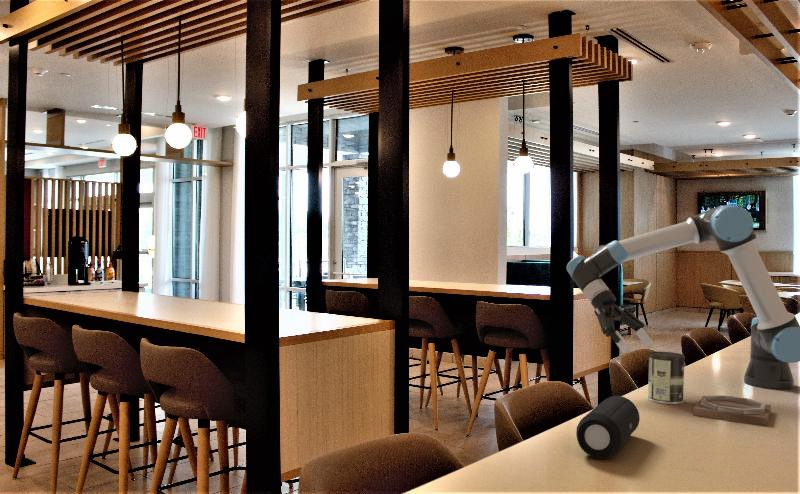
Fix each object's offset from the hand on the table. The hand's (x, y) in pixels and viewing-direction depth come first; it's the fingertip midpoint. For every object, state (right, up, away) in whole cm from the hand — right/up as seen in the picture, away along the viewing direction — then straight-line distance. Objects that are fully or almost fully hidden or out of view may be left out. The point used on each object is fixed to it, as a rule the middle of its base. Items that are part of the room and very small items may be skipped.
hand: (639, 348), depth 216 cm
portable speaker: (-26, -15, -54) cm, 62 cm away
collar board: (+19, -15, -21) cm, 32 cm away
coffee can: (+6, -15, -7) cm, 17 cm away
